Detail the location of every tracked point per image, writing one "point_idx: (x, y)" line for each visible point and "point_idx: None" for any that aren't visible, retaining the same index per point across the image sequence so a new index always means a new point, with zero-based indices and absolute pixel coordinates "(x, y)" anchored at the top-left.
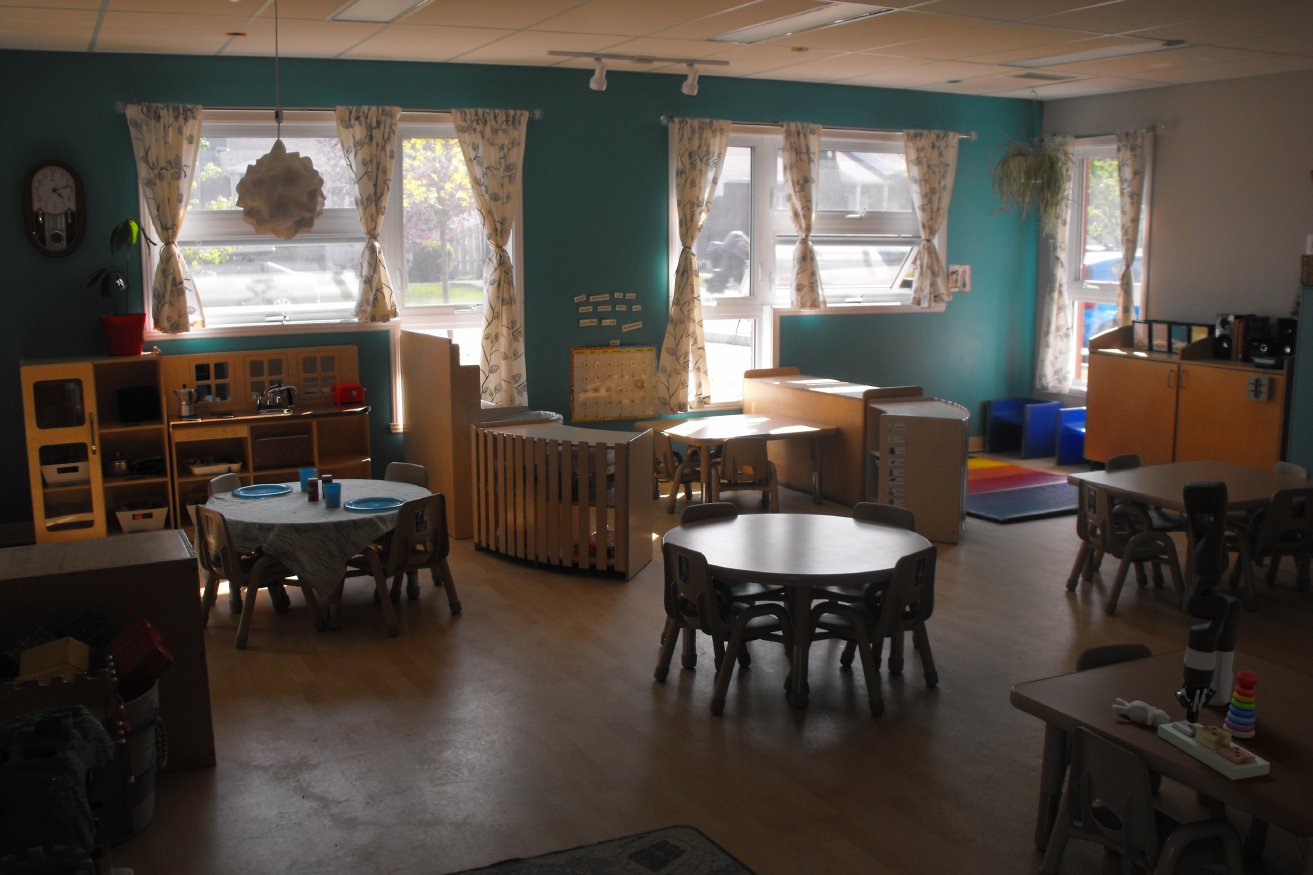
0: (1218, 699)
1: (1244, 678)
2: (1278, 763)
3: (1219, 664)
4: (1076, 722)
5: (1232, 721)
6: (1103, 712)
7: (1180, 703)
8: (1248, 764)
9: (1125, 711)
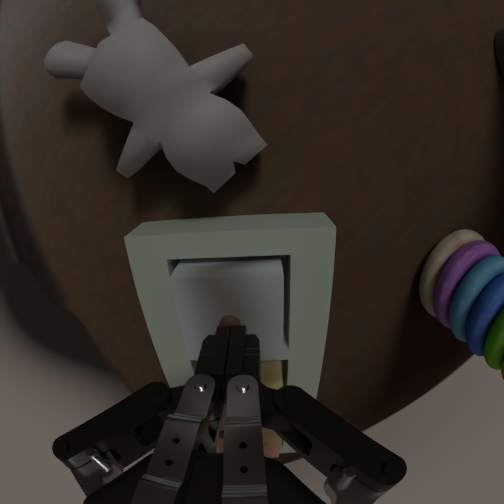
0: None
1: None
2: (369, 406)
3: None
4: None
5: (449, 300)
6: (78, 31)
7: (125, 404)
8: None
9: (82, 77)
